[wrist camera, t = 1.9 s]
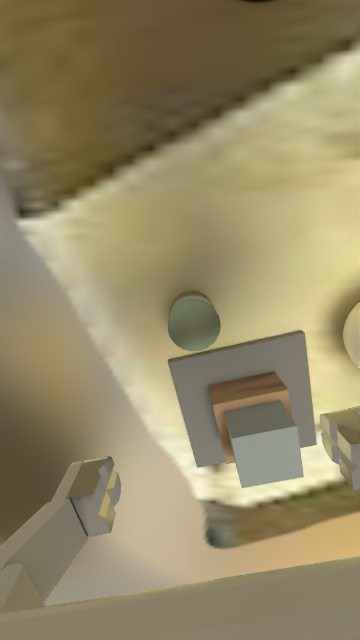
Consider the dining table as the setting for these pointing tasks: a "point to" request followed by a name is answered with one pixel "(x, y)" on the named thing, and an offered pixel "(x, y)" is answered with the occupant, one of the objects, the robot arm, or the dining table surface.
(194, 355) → the mat
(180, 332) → the olive green cylinder
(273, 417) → the tower top
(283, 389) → the block
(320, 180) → the dining table surface
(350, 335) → the lidded jar
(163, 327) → the dining table surface
